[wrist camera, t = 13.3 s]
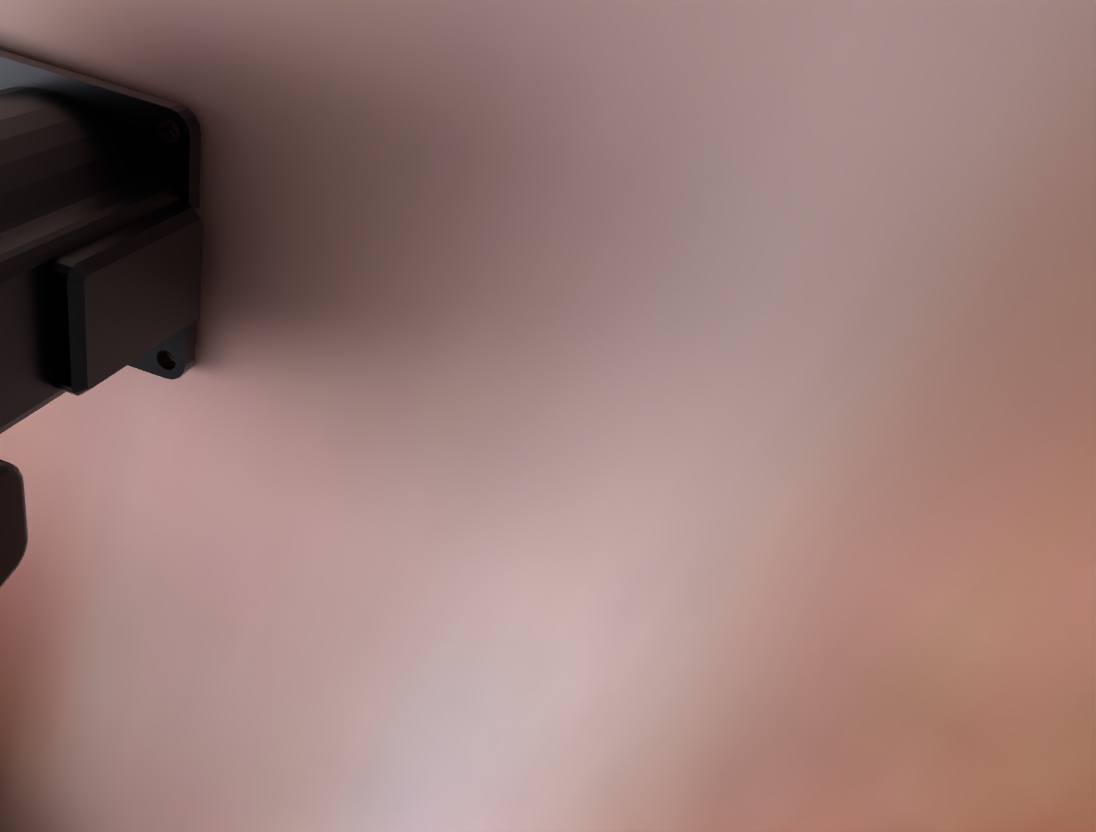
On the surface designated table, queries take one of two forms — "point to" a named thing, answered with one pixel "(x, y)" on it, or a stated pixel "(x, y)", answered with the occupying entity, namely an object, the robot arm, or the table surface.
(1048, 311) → the table surface
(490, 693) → the table surface
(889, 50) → the table surface
